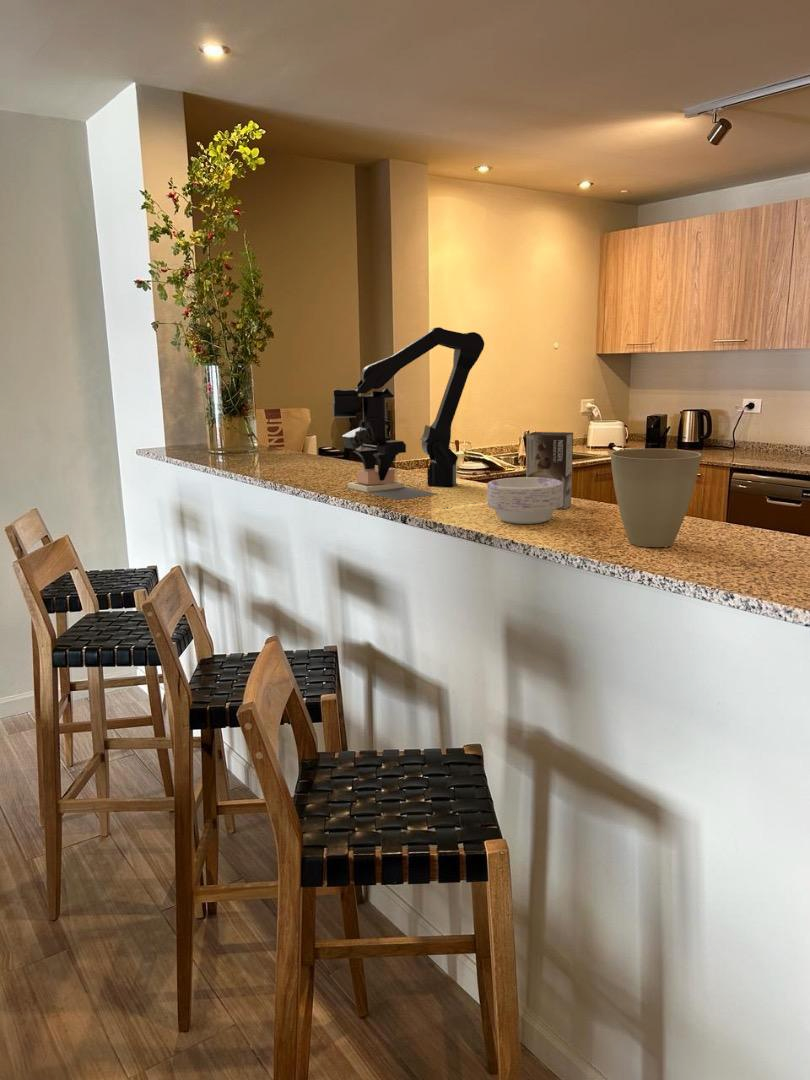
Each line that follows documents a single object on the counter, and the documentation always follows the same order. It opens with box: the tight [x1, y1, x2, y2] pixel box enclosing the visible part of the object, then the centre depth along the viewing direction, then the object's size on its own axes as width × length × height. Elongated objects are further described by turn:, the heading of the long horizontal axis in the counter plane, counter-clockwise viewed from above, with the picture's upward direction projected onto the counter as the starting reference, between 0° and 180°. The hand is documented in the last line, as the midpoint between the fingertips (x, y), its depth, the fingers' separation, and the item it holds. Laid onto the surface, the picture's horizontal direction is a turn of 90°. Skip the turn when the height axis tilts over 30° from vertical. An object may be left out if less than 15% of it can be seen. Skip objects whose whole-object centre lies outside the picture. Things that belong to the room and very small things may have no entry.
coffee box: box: [525, 431, 574, 510], centre depth 171 cm, size 9×6×16 cm
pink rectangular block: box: [356, 467, 396, 484], centre depth 195 cm, size 8×5×3 cm, turn 126°
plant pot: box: [609, 448, 702, 548], centre depth 135 cm, size 15×15×16 cm
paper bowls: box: [486, 476, 563, 525], centre depth 157 cm, size 15×15×8 cm
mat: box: [343, 480, 439, 501], centre depth 191 cm, size 24×12×2 cm, turn 36°
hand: (375, 479), depth 196 cm, fingers closed on pink rectangular block, 5 cm apart
